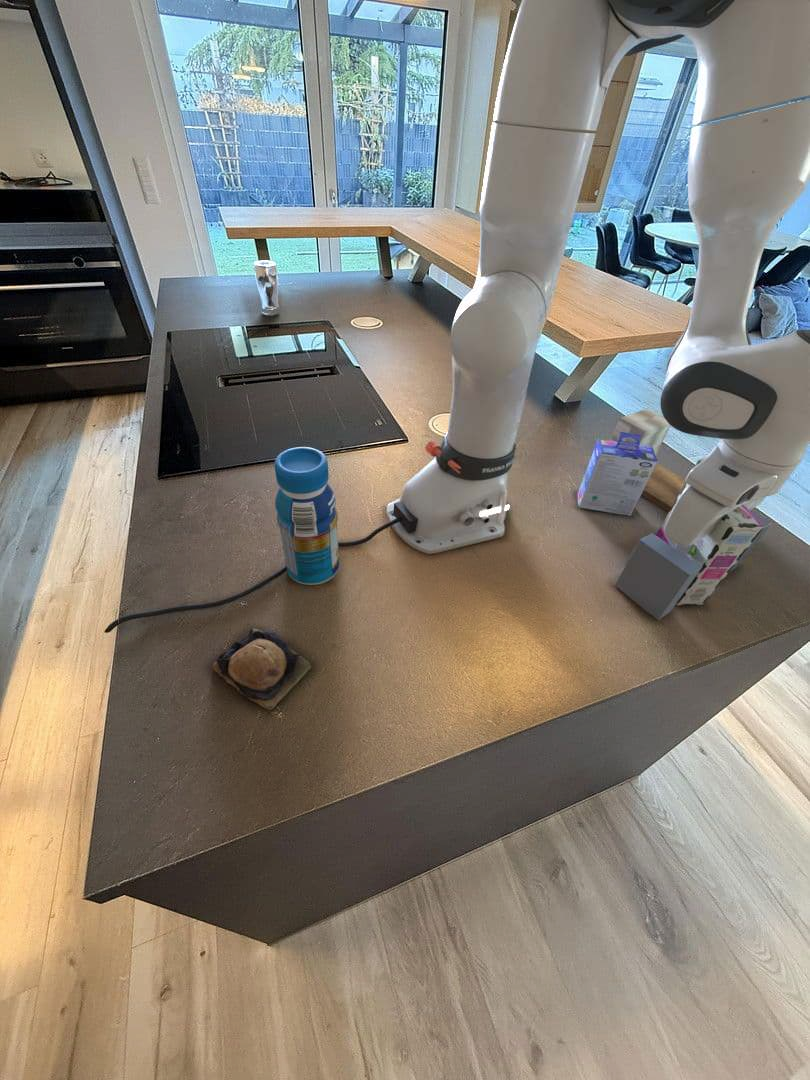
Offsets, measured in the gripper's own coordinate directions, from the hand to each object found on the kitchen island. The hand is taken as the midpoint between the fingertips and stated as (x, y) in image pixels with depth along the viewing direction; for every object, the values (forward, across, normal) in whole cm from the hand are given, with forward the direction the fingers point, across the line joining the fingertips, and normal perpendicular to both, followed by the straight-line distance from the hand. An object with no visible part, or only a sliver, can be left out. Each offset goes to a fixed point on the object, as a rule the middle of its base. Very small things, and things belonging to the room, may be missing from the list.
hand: (696, 543), depth 69 cm
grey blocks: (+8, -2, 0) cm, 8 cm away
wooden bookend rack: (+8, -21, -17) cm, 28 cm away
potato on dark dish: (+8, +62, -18) cm, 65 cm away
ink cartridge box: (+8, -6, -19) cm, 22 cm away
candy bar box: (+8, 0, 0) cm, 8 cm away
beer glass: (+8, +12, -147) cm, 148 cm away
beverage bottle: (+8, +49, -31) cm, 59 cm away
